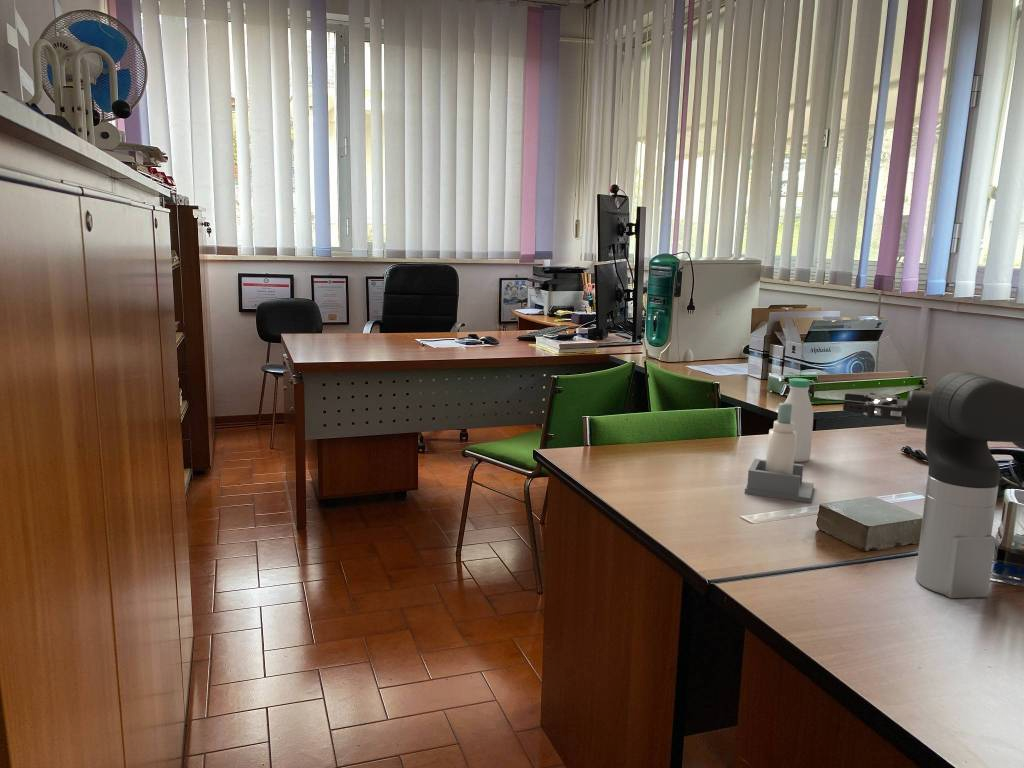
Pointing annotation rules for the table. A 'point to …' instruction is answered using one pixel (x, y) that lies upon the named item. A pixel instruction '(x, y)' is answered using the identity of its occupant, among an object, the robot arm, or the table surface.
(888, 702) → the table surface
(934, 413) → the robot arm
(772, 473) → the box
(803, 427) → the milk bottle
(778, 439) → the plastic bottle
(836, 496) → the table surface
